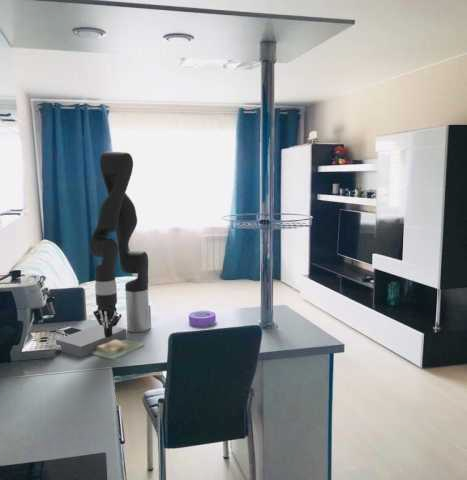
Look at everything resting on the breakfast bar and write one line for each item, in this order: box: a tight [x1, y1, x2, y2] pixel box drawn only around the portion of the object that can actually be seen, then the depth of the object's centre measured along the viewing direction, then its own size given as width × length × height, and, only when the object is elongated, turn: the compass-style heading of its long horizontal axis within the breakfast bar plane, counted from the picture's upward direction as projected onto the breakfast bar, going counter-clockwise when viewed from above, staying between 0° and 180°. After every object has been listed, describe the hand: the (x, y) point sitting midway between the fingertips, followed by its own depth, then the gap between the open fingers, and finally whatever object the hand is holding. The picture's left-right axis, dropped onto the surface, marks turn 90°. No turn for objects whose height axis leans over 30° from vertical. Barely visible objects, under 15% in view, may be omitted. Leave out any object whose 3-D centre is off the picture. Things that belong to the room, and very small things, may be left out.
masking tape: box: [188, 310, 217, 328], centre depth 205 cm, size 12×12×4 cm
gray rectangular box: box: [55, 323, 127, 358], centre depth 180 cm, size 22×14×4 cm, turn 148°
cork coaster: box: [96, 339, 131, 355], centre depth 174 cm, size 9×9×2 cm
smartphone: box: [59, 326, 83, 336], centre depth 193 cm, size 7×15×1 cm, turn 56°
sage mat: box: [91, 338, 146, 361], centre depth 174 cm, size 16×11×1 cm
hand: (108, 336), depth 175 cm, fingers closed
